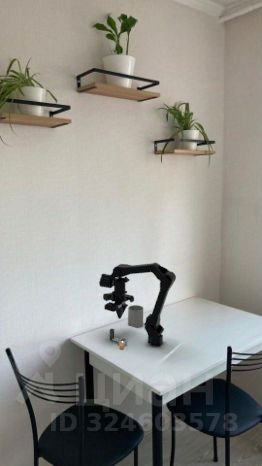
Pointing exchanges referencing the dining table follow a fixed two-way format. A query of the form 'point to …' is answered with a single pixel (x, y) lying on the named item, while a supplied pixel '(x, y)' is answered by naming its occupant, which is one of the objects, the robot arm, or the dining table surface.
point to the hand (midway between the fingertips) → (119, 318)
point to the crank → (117, 338)
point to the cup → (135, 316)
